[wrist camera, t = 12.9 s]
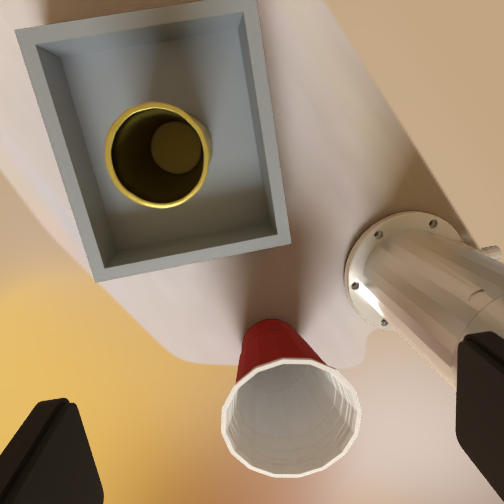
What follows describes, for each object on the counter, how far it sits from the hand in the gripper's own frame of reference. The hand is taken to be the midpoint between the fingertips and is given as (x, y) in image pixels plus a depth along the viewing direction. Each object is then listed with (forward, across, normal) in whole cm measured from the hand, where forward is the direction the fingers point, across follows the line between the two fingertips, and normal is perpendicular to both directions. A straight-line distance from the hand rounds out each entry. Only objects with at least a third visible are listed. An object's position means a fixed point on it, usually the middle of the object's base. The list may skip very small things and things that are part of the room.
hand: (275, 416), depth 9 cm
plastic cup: (+28, -1, +14) cm, 32 cm away
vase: (+27, +4, -6) cm, 28 cm away
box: (+27, +5, -7) cm, 28 cm away
